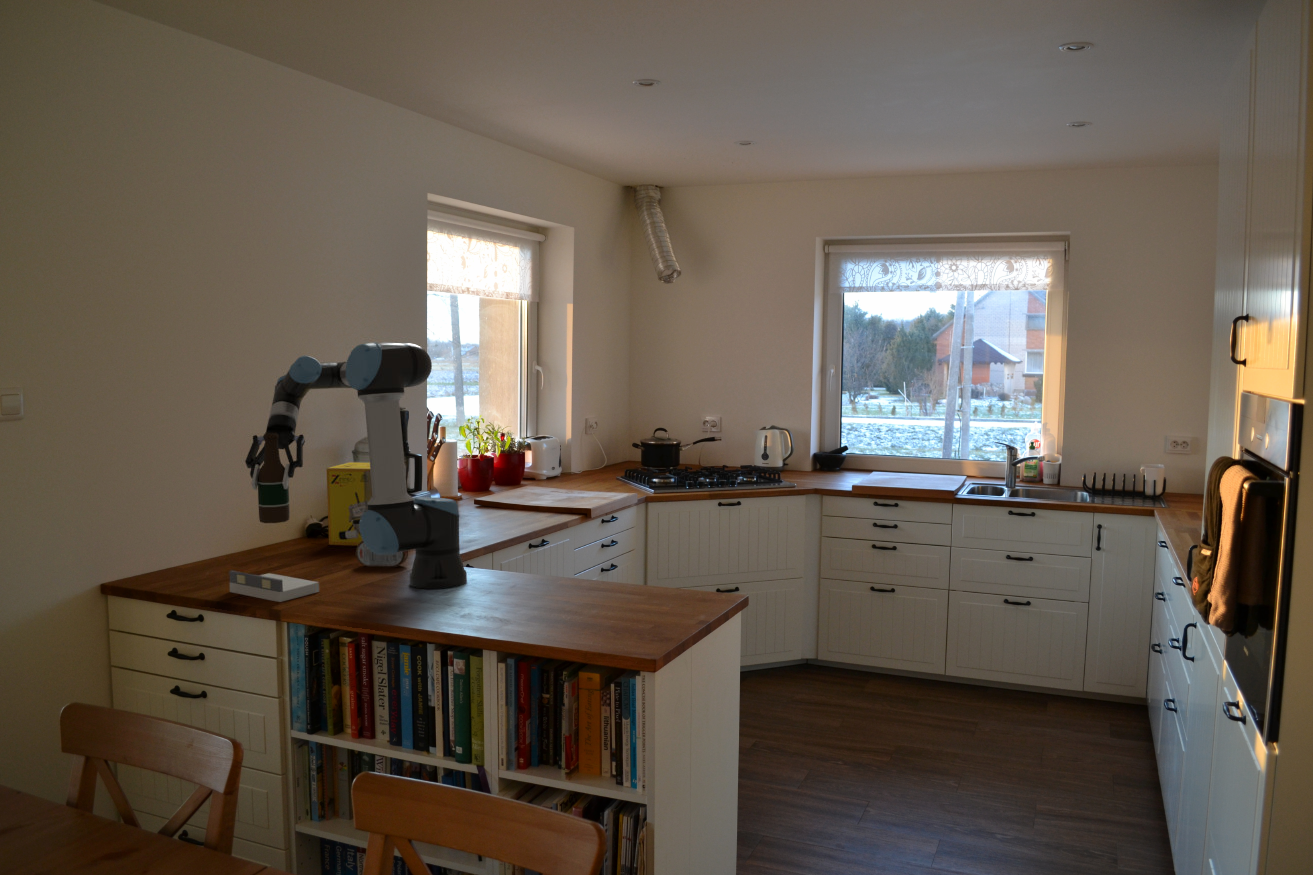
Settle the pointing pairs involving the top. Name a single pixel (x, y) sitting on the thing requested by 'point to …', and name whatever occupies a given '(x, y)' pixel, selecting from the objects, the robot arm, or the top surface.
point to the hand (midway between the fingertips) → (269, 486)
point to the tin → (379, 557)
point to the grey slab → (271, 586)
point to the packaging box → (347, 501)
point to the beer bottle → (272, 485)
